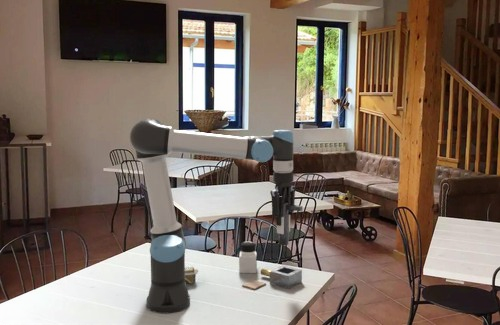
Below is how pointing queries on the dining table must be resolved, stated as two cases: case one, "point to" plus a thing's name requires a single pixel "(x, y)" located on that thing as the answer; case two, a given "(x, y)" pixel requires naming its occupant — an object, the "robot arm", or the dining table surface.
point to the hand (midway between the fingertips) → (283, 232)
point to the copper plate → (254, 284)
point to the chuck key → (284, 237)
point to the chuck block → (284, 276)
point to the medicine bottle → (247, 258)
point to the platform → (190, 275)
